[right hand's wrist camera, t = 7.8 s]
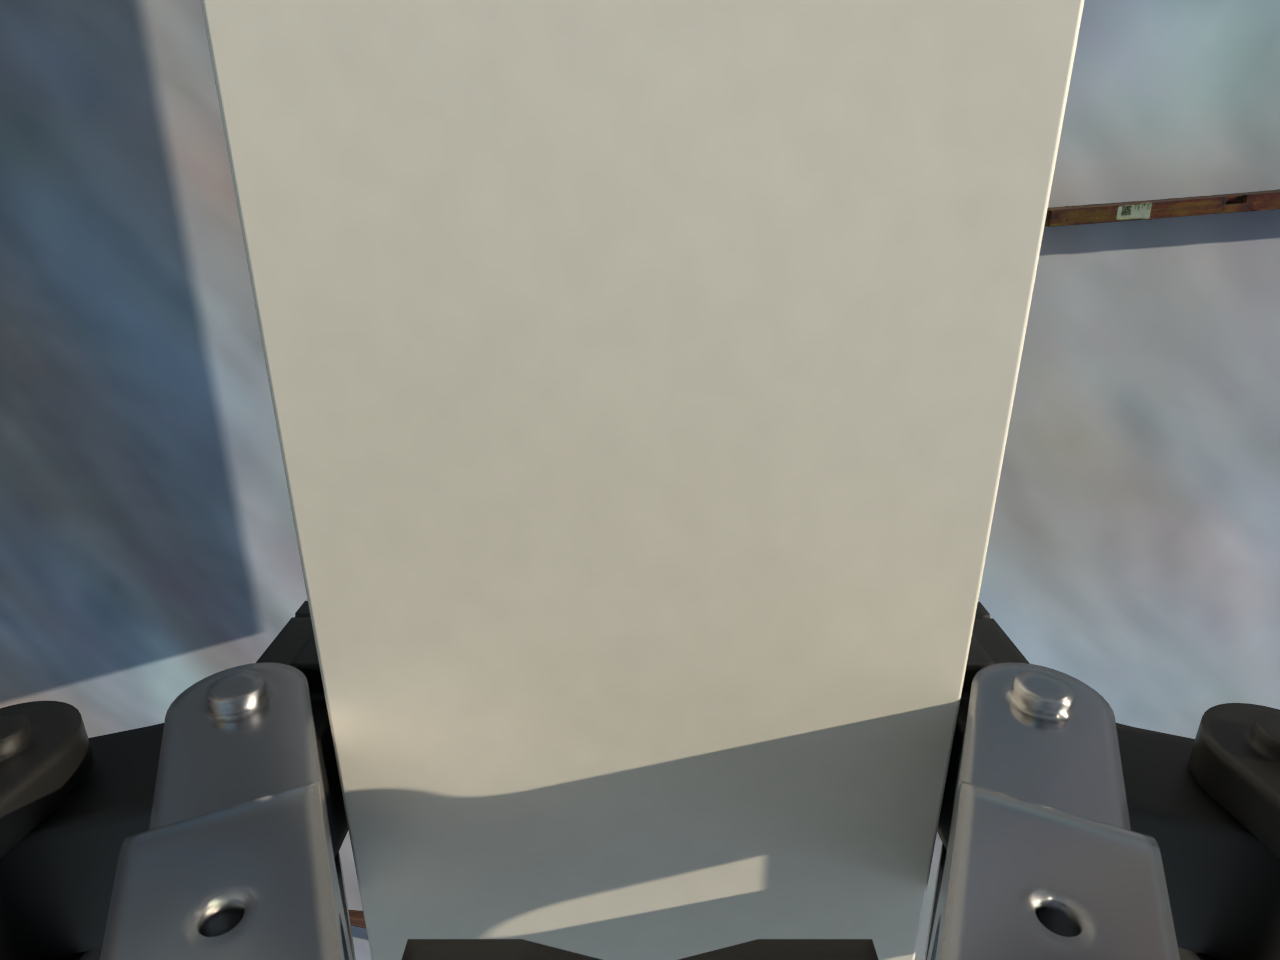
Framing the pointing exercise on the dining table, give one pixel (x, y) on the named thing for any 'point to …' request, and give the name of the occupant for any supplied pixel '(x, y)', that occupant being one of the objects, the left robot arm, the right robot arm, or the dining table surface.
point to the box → (642, 436)
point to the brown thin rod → (1162, 208)
